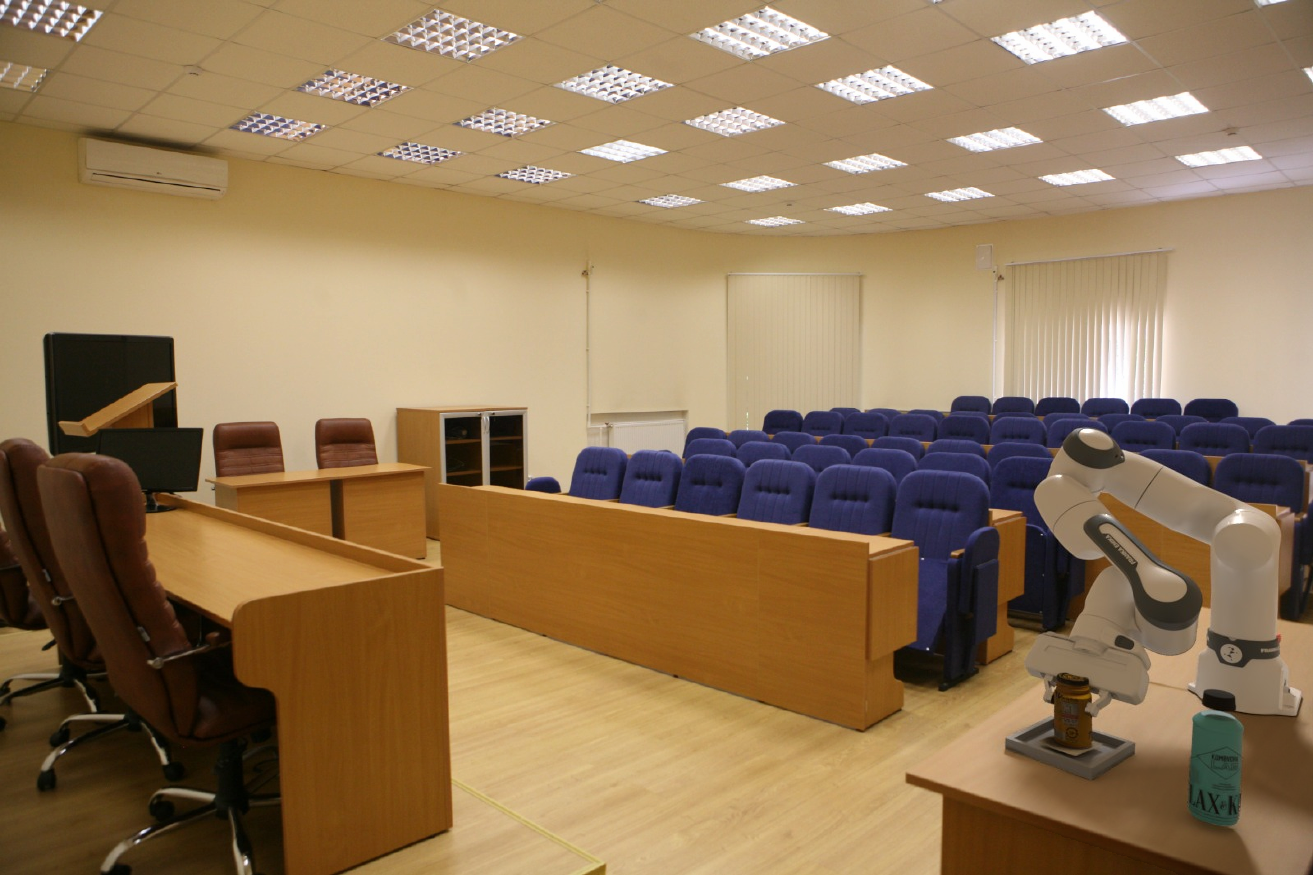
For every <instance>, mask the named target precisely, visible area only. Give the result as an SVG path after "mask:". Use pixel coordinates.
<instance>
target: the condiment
mask: <svg viewBox="0 0 1313 875" xmlns="http://www.w3.org/2000/svg"><path fill="white" fill-rule="evenodd" d="M1056 679H1057V682H1056V686H1055V688H1054V690H1053V692H1054V704H1053V717H1054V735H1053V736H1050V737H1047V738H1044V739H1042V740H1038V741H1037V742H1039V743H1041V744H1043V745H1046V746H1049V747H1051V748H1053V749H1057V750H1058V751H1063V752H1065V753H1068V754H1072V755H1074V756H1077V755H1079V754H1082V753H1084V752H1086V751H1089V750H1092V749H1094V748H1096V747H1098V746H1101V745H1102V743H1099V742H1095V741H1092V729H1093V717H1092V716H1089V715H1087V713H1085V708H1086V707H1087V703H1088V702H1090V703H1093V696H1092V693H1090V691H1089V690H1090V686H1089V679H1088V678H1087V677H1080V676H1076V675H1072V674H1069V673H1066V672H1064V673H1059V674H1057V676H1056Z"/></svg>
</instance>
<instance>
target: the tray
mask: <svg viewBox="0 0 1313 875" xmlns="http://www.w3.org/2000/svg"><path fill="white" fill-rule="evenodd" d="M1053 735H1054V715H1050V716H1047V717H1046V718H1043V719H1041V720H1039V721H1037V722H1035V723H1033V724H1032V725H1031V724H1030V725H1028V726H1027V727H1025V728H1023V729H1021V730H1019V731H1016V732H1014V733H1012V734H1010V735H1008V736H1007V737H1005V739H1004V740H1005V741H1004V744H1005V745H1004V749H1005V750H1007V751H1011V752H1013V753H1016V754H1019V755H1021V756H1024V757H1027V758H1029V759H1032V760H1035V761H1038V762H1041V763H1043V764H1046V765H1049V766H1051V767H1054V768H1057V769H1059V770H1062V771H1065V772H1067V773H1069V774H1073V775H1076V776H1078V777H1081V778H1084V779H1087V780H1090V781H1093V780H1095V779H1096V778H1098V777H1099V776H1101V775H1103V774H1105V773H1106V772H1107V771H1109V770H1110V769H1113V768H1114V767H1116V766H1117V765H1119V764H1121V763H1122V762H1124V761H1126V760H1127V759H1128V758H1130V757H1132V756H1133V755H1135V754H1136V742H1135V741H1132V740H1129V739H1125V738H1122V737H1119V736H1115V735H1114V734H1113V735H1112V734H1110V733H1106V732H1104V731H1100V730H1098V729H1097V730H1096V729H1094V728H1092V741H1095V742H1099V743H1102V745H1101V746H1098V747H1096V748H1094V749H1092V750H1089V751H1086V752H1084V753H1082V754H1079V755H1077V756H1074V755H1072V754H1068V753H1065V752H1063V751H1058V750H1057V749H1053V748H1051V747H1049V746H1046V745H1043V744H1041V743H1039V742H1037V741H1038V740H1042V739H1044V738H1047V737H1050V736H1053Z"/></svg>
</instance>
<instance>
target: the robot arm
mask: <svg viewBox="0 0 1313 875" xmlns="http://www.w3.org/2000/svg"><path fill="white" fill-rule="evenodd" d="M1052 460H1053V461H1052V462H1051V464H1050V468H1049V471H1048V473H1047V476H1046V478H1045V479H1043V480H1042V481H1041V482H1039V484H1038V485H1037V487H1036V488H1035V490H1034V494H1033V502H1034V504H1035V506H1036V508H1037V510H1038V513H1039V514H1040V516H1041V518H1042V520H1043V521H1044V523H1045V524H1046V526H1047V528H1048V529H1049V530H1050V531H1051V533H1052V534H1053V536H1054V537H1055V539H1057V540H1058V542H1059V543H1060V544H1061V545H1062V546H1063V547H1064V548H1065V550H1067V551H1068V552H1069V553H1070V554H1072V556H1074V557H1075V558H1077V559H1079V560H1080V559H1081V560H1088V561H1091V560H1093V561H1094V560H1099V559H1101V558H1103V557H1104V558H1106V560H1108V561H1109V562H1110V564H1111V565H1109V566H1108V567H1105V568H1104V569H1102V571H1101V572H1100V573H1099V575H1098V576H1097V577H1096V578H1095V580H1094V582H1093V584H1092V586H1091V587H1090V589H1089V592H1088V594H1087V595H1086V598H1085V601H1084V607H1083V610H1082V612H1081V613H1079V615H1078V617H1077V618H1076V620H1075V623H1074V625H1073V627H1072V630H1071V631H1070V633H1069V635H1067V634H1063V633H1062V634H1061V633H1057V632H1054V631H1047V632H1042V633H1039V634H1038V635H1037V636H1036V638H1035V641H1034V644H1033V645H1032V646H1031V648H1030V649H1029V651H1028V652H1027V654H1026V656H1025V658H1024V660H1023V664H1024V665H1023V666H1024V667H1025V669H1026V670H1027V672H1028V674H1029V675H1030V676H1031V677H1034V678H1038V679H1042V680H1043V684H1044V690H1045V691H1044V694H1043V696H1042V699H1043V701H1044V703H1046V704H1051V705H1054V691H1053V688H1056V682H1057V679H1056V676H1057V674H1059V673H1064V672H1066V673H1069V674H1072V675H1076V676H1080V677H1087V678H1088V679H1089V686H1090V690H1089V691H1090V693H1091V694H1094V695H1097V696H1098V698H1097V699H1096V700H1095V701H1092V703H1090V702H1088V703H1087V707H1086V708H1085V713H1087V715H1089V716H1092V718H1097V717H1098V715H1099V712H1100V711H1101V710H1102V709H1104V708H1106V707H1107V706H1108V705H1110V704H1111V702H1112V700H1116V701H1119V702H1123V703H1125V704H1130V705H1132V706H1138V705H1140V704H1142V703H1143V702H1144V701H1145V699H1146V696H1147V693H1148V690H1149V683H1150V675H1149V673H1148V671H1150V669H1151V667H1152V661H1151V659H1150V657H1149V654H1148V653H1147V650H1148V651H1151V652H1153V653H1155V654H1158V655H1161V656H1165V657H1169V656H1171V657H1173V656H1178V655H1179V656H1180V655H1183V654H1185V653H1187V652H1188V651H1189V650H1191V649H1192V648H1193V647H1194V645H1195V644H1196V641H1197V634H1198V628H1199V617H1200V613H1201V610H1202V606H1203V603H1204V599H1203V593H1202V590H1201V588H1200V587H1199V585H1198V584H1197V582H1196V581H1195V580H1193V578H1192V577H1190V576H1189V575H1187V574H1186V573H1184V572H1182V571H1181V570H1178V569H1177V568H1175V567H1172V566H1171V565H1169V564H1168V563H1166V562H1164V561H1163V560H1161V559H1160V558H1159V557H1158V556H1157V554H1156V555H1155V554H1154V553H1153V551H1151V550H1150V549H1149V548H1148V546H1146V544H1144V543H1143V542H1142V541H1141V540H1140V539H1139V538H1138V537H1137V535H1135V534H1134V533H1133V532H1132V531H1131V530H1130V529H1129V528H1127V526H1125V525H1124V524H1123V523H1122V522H1121V521H1119V520H1118V519H1116V517H1115V516H1114V515H1113V514H1112V513H1111V511H1109V509H1108V508H1107V507H1106V506H1105V504H1104V503H1103V502H1102V501H1101V500H1100V499H1099V496H1100V495H1101V492H1104V493H1108V494H1109V495H1111V496H1112V497H1113V498H1115V499H1116V500H1118V501H1119V502H1121V504H1123V505H1125V506H1127V507H1129V508H1131V509H1133V510H1134V511H1136V512H1138V513H1139V514H1141V515H1143V516H1146V518H1148V519H1151V520H1153V521H1154V522H1156V523H1158V524H1160V525H1162V526H1163V527H1165V528H1168V529H1169V530H1170V531H1174V532H1177V533H1180V534H1183V535H1186V536H1188V537H1190V538H1193V539H1195V540H1197V541H1199V542H1202V543H1204V544H1206V545H1209V546H1210V588H1211V590H1210V594H1211V596H1210V611H1209V612H1210V616H1209V621H1210V622H1209V627H1208V628H1207V631H1206V632H1207V633H1206V636H1205V639H1206V646H1207V647H1206V648H1205V649H1202V650H1201V651H1200V652H1198V655H1197V663H1196V673H1195V674H1196V675H1195V680H1194V681H1193V682H1189V683H1187V687H1186V688H1187V689H1188V690H1189V691H1191V692H1192V693H1195V694H1196V695H1197V696H1198V697H1199V698H1200V699H1201V700H1202V699H1203V692H1204V690H1207V689H1217V690H1223V691H1227V692H1229V693H1232V694H1233V695H1234V696H1235V701H1236V710H1235V711H1234V712H1240V713H1244V714H1245V713H1247V714H1254V715H1280V716H1281V715H1282V716H1291V717H1292V716H1293V717H1294V716H1297V714H1298V711H1299V708H1300V704H1301V700H1302V696H1303V695H1302V691H1301V690H1300V689H1297V688H1295V687H1292V686H1289V678H1290V677H1289V676H1290V673H1289V672H1290V668H1289V667H1288V666H1287V664H1286V663H1285V662H1284V661H1283V659H1282V658H1281V657H1280V654H1281V650H1280V649H1281V641H1282V634H1281V633H1277V631H1278V629H1277V628H1278V610H1279V609H1278V607H1279V570H1280V567H1279V565H1280V548H1281V543H1282V531H1281V528H1280V526H1279V524H1278V522H1277V521H1276V519H1275V518H1274V517H1273V516H1271V515H1270V514H1268V513H1267V512H1265V511H1263V510H1261V509H1259V508H1257V507H1256V506H1255V507H1254V506H1252V505H1250V504H1248V503H1245V502H1243V501H1241V500H1239V499H1237V498H1235V497H1231V496H1230V495H1228V494H1225V493H1223V492H1220V491H1218V490H1216V489H1213V488H1212V487H1211V488H1210V487H1209V486H1206V485H1204V484H1201V483H1200V482H1197V481H1195V480H1193V479H1191V478H1189V477H1187V476H1186V475H1183V474H1182V473H1180V472H1177V471H1176V470H1173V469H1171V468H1169V467H1167V466H1165V465H1164V464H1162V463H1159V462H1158V461H1156V460H1153V459H1151V458H1148V457H1145V456H1143V455H1140V454H1137V453H1134V452H1131V451H1128V450H1124V449H1121V447H1120V446H1119V444H1118V443H1117V441H1116V440H1115V439H1114V438H1113V437H1112V436H1111V435H1109V434H1108V433H1107V432H1105V431H1102V430H1101V429H1097V428H1094V427H1080V428H1079V427H1078V428H1076V429H1073V431H1071V432H1070V433H1068V435H1067V436H1066V437H1065V439H1064V440H1063V442H1062V446H1061V447H1060V449H1059V450H1058V451H1057V453H1056V455H1055V457H1054V458H1053V459H1052Z"/></svg>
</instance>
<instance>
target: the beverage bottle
mask: <svg viewBox="0 0 1313 875" xmlns="http://www.w3.org/2000/svg"><path fill="white" fill-rule="evenodd" d="M1201 704H1202V706H1203V707H1205V708H1206V709H1205V710H1204V709H1203V710H1202V711H1200V712H1197V713H1196V714H1194V715H1193V716H1192V727H1191V728H1192V729H1191V732H1192V733H1191V746H1190V747H1191V748H1190V757H1189V758H1188V760H1189V771H1188V780H1187V783H1188V791H1187V802H1186V804H1187V808H1188V811H1189V813H1190V815H1192V816H1193V817H1194V818H1196V819H1197V820H1200V821H1202V822H1205V823H1208V824H1211V825H1217V826H1222V827H1229V826H1234V825H1236V824H1237V823H1238V822H1239V819H1240V815H1241V810H1240V809H1241V806H1242V805H1241V804H1242V803H1241V802H1242V792H1241V787H1242V782H1243V781H1242V777H1243V775H1242V765H1243V759H1244V757H1243V754H1242V753H1243V737H1244V736H1243V735H1244V730H1245V729H1244V728H1245V727H1244V725H1243V724H1242V723H1241V722H1240V721H1239V720H1238V719H1237V718H1236V717H1235V715H1233V714H1231V712H1236V711H1235V710H1236V701H1235V696H1234V695H1233V694H1232V693H1229V692H1227V691H1223V690H1217V689H1207V690H1204V692H1203V699H1201ZM1207 708H1208V709H1207Z"/></svg>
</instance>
